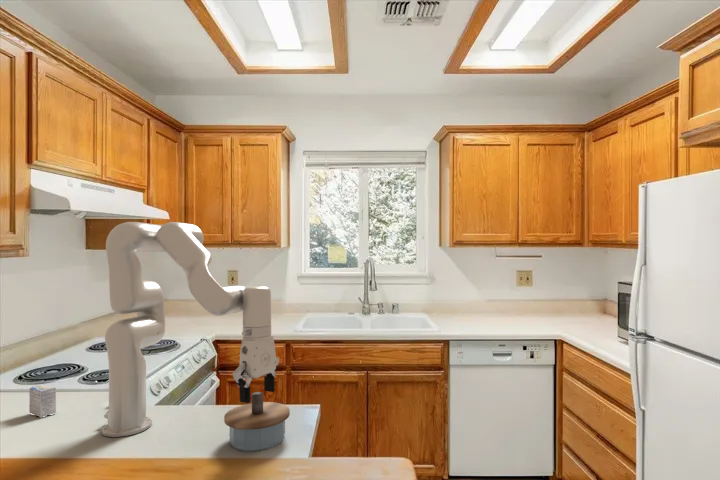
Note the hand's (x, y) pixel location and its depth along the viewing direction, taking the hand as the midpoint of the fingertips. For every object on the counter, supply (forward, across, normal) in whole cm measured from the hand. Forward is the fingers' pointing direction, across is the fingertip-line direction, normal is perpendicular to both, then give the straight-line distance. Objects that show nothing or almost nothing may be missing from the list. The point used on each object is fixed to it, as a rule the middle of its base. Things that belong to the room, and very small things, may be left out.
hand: (257, 396), depth 111 cm
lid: (+5, 0, 0) cm, 5 cm away
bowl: (+11, 0, 0) cm, 11 cm away
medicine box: (+12, -14, +77) cm, 79 cm away
